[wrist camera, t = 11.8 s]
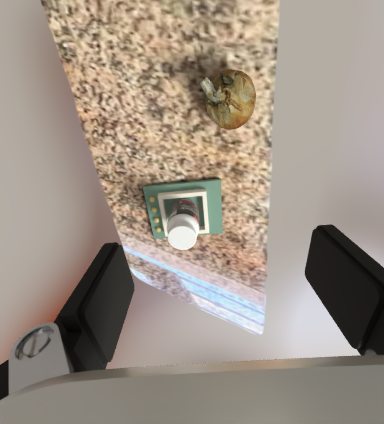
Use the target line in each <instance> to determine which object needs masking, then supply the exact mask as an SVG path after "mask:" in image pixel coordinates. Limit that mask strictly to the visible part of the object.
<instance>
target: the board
mask: <svg viewBox="0 0 384 424" xmlns="http://www.w3.org/2000/svg"><path fill="white" fill-rule="evenodd" d="M143 191H144V195H145V200H146V204H147V209H148V213H149V218H150V222H151V227H152V231H153V236H154V239H159V238H168V232H167V223H168V219H169V215H170V210H171V207H172V205H173V204H174V203H175V202H176V201H178V200H182V199H187V200H190V201H192V202H194V203H195V204H196V206H197V207H198V210H199V233H198V235H207V234H219V233H223V228H222V203H221V180H220V178H219V179H209V180H199V181H188V182H178V183H167V184H157V185H147V186H143Z"/></svg>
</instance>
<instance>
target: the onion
mask: <svg viewBox="0 0 384 424" xmlns="http://www.w3.org/2000/svg"><path fill="white" fill-rule="evenodd" d="M200 85H201V87H202V89H203V90H204V92H205V94H206V97H205V104H206V108H207V112H208V115H209V117H210V118H211V120H212V121H214V122H215V123H216V124H217V125H218V126H220V127H221V128H224V129H236V128H239V127H241V126H242V125H244V124H245V123H246V122H247V121H248V120H249V118H250V117H251V115H252V113H253V110H254V106H255V101H256V93H255V88H254V85H253V82H252V80H251V78H250V77H249V76H248V75H247V74H245V73H244V72H242V71H237V70H225V71H223V72H221V73H219V74H218V75H217V76H216V77H215V78H214V79H213V81H212V82H211V81H210V80H209V79H208V78H207V77H205V78H204V80H203V81H202V82H201V83H200Z"/></svg>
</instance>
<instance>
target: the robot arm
mask: <svg viewBox="0 0 384 424" xmlns="http://www.w3.org/2000/svg"><path fill="white" fill-rule="evenodd" d="M305 276H306V279H307V280H308V282H309V283H310V285H311V286H312V288H313V289H314V291H315V292H316V294H317V295H318V297H319V298H320V300H321V301H322V303H323V304H324V306H325V307H326V309H327V310H328V312H329V314H330V315H331V317H332V318H333V320H334V321H335V323H336V324H337V326H338V327H339V329H340V330H341V332H342V333H343V335H344V336H345V338H346V339H347V340H348V342H349V344H350V345H351V346H352V347H353V348H354V349H357V350H358V352H359V353H360V355H361V356H338V357H318V358H297V359H278V360H277V359H275V360H257V361H238V362H219V363H200V364H183V365H165V366H147V367H131V368H120V369H119V368H118V369H105V368H106V366H107V363H108V362H110V361H111V360H112V358H113V354H114V352H115V349H116V345H117V342H118V339H119V336H120V333H121V330H122V327H123V324H124V320H125V317H126V314H127V311H128V308H129V305H130V302H131V298H132V295H133V292H134V283H133V279H132V276H131V273H130V270H129V266H128V263H127V260H126V257H125V254H124V251H123V247H122V246H121V245H119V244H118V243H116V242H115V243H105V244H104V245H103V246H102V248H101V249H100V251H99V253H98V254H97V256H96V257H95V259H94V260H93V262H92V263H91V265H90V267H89V268H88V270H87V272H86V273H85V274H84V276H83V278H82V279H81V281H80V282H79V283H78V285H77V287H76V288H75V290H74V291H73V293H72V294H71V296H70V297H69V299H68V301H67V302H66V304H65V305H64V307H63V308H62V310H61V311H60V313H59V314H58V317H57V318H56V320H55V321H54V323H53V322H46V323H42V324H39V325H37V326H35V327H33V328H31V329H30V330H28V331H27V332H25V333H24V334H23V335H22V336H21V337H20V338H19V339H18V340H17V341H16V343H15V344H14V345H13V347H12V349H11V351H10V354H9V359H8V360H7V361H6V362H4V363H2V364H1V365H0V424H384V268H383V267H382V266H381V265H380V264H379V263H378V262H376V261H375V260H374V259H373V258H371V257H370V256H369V255H368V254H367V253H366V252H364V251H363V250H362V249H361V248H360V247H358V246H357V245H356V244H355V243H354V242H352V241H351V240H350V239H349V238H348V237H346V236H345V235H344V234H343V233H342V232H341V231H340V230H338V229H337V228H336V227H335V226H333V225H319V226H317V228H316V229H314V230H313V232H312V237H311V243H310V248H309V253H308V258H307V263H306V268H305Z"/></svg>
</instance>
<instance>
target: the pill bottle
mask: <svg viewBox="0 0 384 424" xmlns="http://www.w3.org/2000/svg"><path fill="white" fill-rule="evenodd" d="M167 232H168V241H169V243H170V245H171V246H173V247H174V248H176V249H179V250H186V249H189V248H191V247H192V246H193V245H194V244H195V242H196V237H197V235H198V233H199V210H198V207H197V206H196V204H195V203H194V202H192V201H190V200H187V199H182V200H178V201H176V202H175V203H174V204H173V205H172V207H171V210H170V215H169V219H168V223H167Z"/></svg>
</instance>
